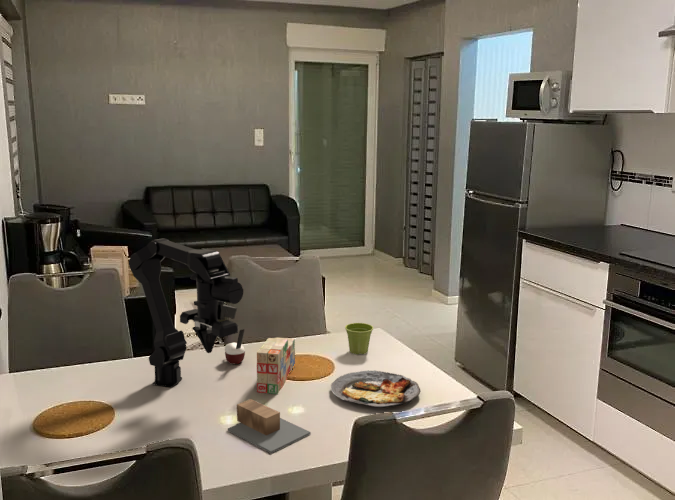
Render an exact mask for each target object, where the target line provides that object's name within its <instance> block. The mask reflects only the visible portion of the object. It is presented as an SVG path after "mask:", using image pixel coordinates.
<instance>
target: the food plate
mask: <svg viewBox="0 0 675 500" xmlns="http://www.w3.org/2000/svg"><path fill="white" fill-rule="evenodd" d="M374 382H375V384H374ZM376 383H377V384H376ZM351 387H352V388H351ZM330 391H331V392H332V394H333V395H334V396H336V397H337V398H338V399H340V400H341V401H347V402H351V403H356V404H358V405H365V406H371V407H377V408H390V407H396V406H402V405H405V404H406V403H407V404H408V403H410V402H412V401H413V400H414V399H416V398H417V397H418V396H419V395H420V394H421V387H420V386H419V384H418V382H417V381H415V380H412V379H411V378H410V377H406V376H404V375H402V374H397V373H394V372H392V373H391V372H386V371H381V370H361V371H355V372H349V373H345V374H343V375H339V376H338V377H337V378H336V379H335V380H334V381H333V382H331V384H330Z"/></svg>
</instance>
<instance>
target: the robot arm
mask: <svg viewBox="0 0 675 500" xmlns="http://www.w3.org/2000/svg"><path fill="white" fill-rule="evenodd" d="M166 258H167V259H171V260H173V261H175V262H179V263H181V264H184V265H186V266H187V267H188V269H189V270H190V271H192V272H193V273H194V274H192V275H191V276H190V279H191V280H192V281H196V300H194V301H193V305H194V306H196V307H197V308H194V309H189V310H185V311H182V312H181V314H180V315H179V323H181V324H184V325H188V323H189V322H190V321H193V323H194V326H193V327H192V331H194V333H195V334H196V335H197V339H199V341H200V343H201V345H202V347H203V349H204V350H205V352H206V353H207V354H211V353H212V352H213V349H214V346H215V343H216V340H217V338H225V337H228V336H232V335H235V334H239V325H238V323H237V322H234V321H232V320H235V319H236V314H237V310H238V308H237V307H234V306H232V305H237V304H238V303H240V302H241V300H242V299H243V297H244V296H243V295H244V288H243V285H242V284H241V283H240V282H239V281H238V277H236V276H234V277H232V276H231V274H230V271H229V268H228V266H227V265H226V264H225V262H224V260H223V259H222V256H221V254H220V252H219V251H217V250H215V249H207V248H205V249H195V248H193V247H189V246H187V245H186V246H185V245H183V244H180V243H176V242H174V241H172V240H171V241H170V240H169V239H167V238H159V239H152V240H151V241H150V242H148V243H147V245H145V246H144V247H141V249H139V250H137V251H136V252H134V253H132V254H131V255H130V257H129V260H128V266H129V269H130V271H131V274H132V276H133V277H134V278H135V279H136V280H137V281H138V282H139V283H140V284H141V285H142V289H143V292H144V295H145V299H146V303H147V305H148V309H149V312H150V315H151V316H150V317H151V318H152V322H153V325H154V329H155V336H154V341H153V345H154V351H152V353H151V354H150V356H148V362H149V365H150V366H153V367H154V381H153V382H152V385H153V386H158V387H159V386H161V387H166V388H167V387H168V388H174V387H175V386H176V385H177V384H178V383H179V382H181V381H182V380H183V377H182V368H181V366H180V361H182V360H184V357H185V353H186V352H187V343H188V342H187V341H186V338H185V334H184V331H183V330H178V329H177V328H176V327H175V326H174V324H173V320H172V317H171V313H170V310H169V308H168V307H169V306H168V303H167V301H166V297H165V293H164V291H163V288H162V285H161V281H160V280H161V279H160V276H161V273H162V265H161V264H162V263H161V262H162V261H163V260H164V259H166ZM225 303H228V305H227V304H225ZM229 304H232V305H229ZM225 318H229V319H232V320H229V319H226V320H225ZM221 320H222V321H221Z"/></svg>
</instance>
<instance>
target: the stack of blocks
mask: <svg viewBox="0 0 675 500" xmlns="http://www.w3.org/2000/svg"><path fill="white" fill-rule="evenodd" d="M295 345H296V344H295V338H289V337H268V338H267V339H266V341H265V342H264V343H263V345H262V346H261V347H260V348H259V349H258V350H257V352H256V393H261V394H271V395H272V394H274V395H279V393H280V391H281V390H282V389H283V387H284V385H285V384H286V383H287V382H286V381H287V380H288V378H287V376H288V374H289V372H290V371H291V370H292V368H293V366H294V364H295V365H296V358H295V357H296V348H295V347H296V346H295ZM292 371H293V370H292ZM288 377H289V376H288Z"/></svg>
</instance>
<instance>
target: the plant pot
mask: <svg viewBox="0 0 675 500" xmlns="http://www.w3.org/2000/svg"><path fill="white" fill-rule="evenodd" d="M344 329H345V331H346V332H345V333H346V334H347V341H348V347H349V349H348V350H349V352H350V354H353V355H357V356H358V355H365V354H367V353H368V352H369V346H370V340H371V336H372V335H371V334H372V333H373V330H374V325H372V324H369V323H363V322H353V323H348V324H346V325H345V327H344Z"/></svg>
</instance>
